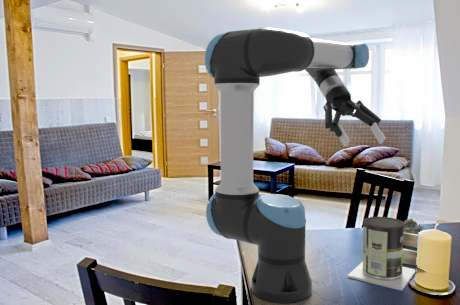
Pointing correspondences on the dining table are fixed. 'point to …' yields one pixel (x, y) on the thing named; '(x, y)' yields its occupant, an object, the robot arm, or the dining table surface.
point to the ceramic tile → (395, 284)
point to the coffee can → (383, 248)
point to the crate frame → (409, 255)
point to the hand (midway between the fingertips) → (365, 142)
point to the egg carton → (412, 227)
